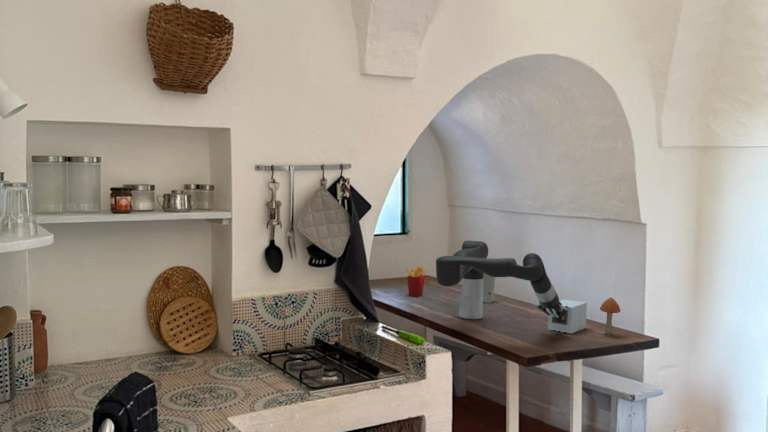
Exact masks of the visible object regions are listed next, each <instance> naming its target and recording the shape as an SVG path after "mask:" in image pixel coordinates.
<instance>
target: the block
mask: <svg viewBox="0 0 768 432" xmlns="http://www.w3.org/2000/svg"><path fill="white" fill-rule="evenodd" d="M559 302H560V303H561V304H562V306H564V307H565V306H568V310H567V312H566V313H565V320H562V321H561V322H560V323H559V322H556V321H555V320H554V318H553V317H552V316H551V315H547V316H548V317H547V319H548V322H547V330H548V331H553V330H555V331H554V332H558V331H560V332H559V333H564V332H566V334H570V333H571V334H574V333H576V332H579V331H581V330H584V329H586V328H587V309H588V308H587V307H588V302H585V301H578V300H572V299H571V300H570V299H561V300H559ZM560 310H561V308H560Z"/></svg>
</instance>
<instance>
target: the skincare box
mask: <svg viewBox="0 0 768 432" xmlns="http://www.w3.org/2000/svg"><path fill="white" fill-rule="evenodd" d="M483 274H484V276H483V304H484V303H485V304H486V303H487V304H492V303H493V302H494V300H495V299H494V297H495V283H496V281H495V280H496V277H492V276H489V275H487V274H485V273H483Z"/></svg>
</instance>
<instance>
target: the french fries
mask: <svg viewBox="0 0 768 432" xmlns="http://www.w3.org/2000/svg"><path fill="white" fill-rule="evenodd" d="M406 271H407V272H408V274H409V275H407V277H406V279H407V290H408V296H409V297H415V298H418V297H422V296H423V294H424V285H425V277H426V276H425V275H424V274H426V273H427V270H425V269H423V268H422V267H421V266H419V265H417V266H416V268H415V270H414V269H407V270H406Z"/></svg>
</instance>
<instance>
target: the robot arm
mask: <svg viewBox="0 0 768 432" xmlns="http://www.w3.org/2000/svg"><path fill="white" fill-rule="evenodd" d="M488 256H489V247H488V245H487V243H486V242H485V241H481V240H479V241H478V240H464V241H463V243H462V245H461V249H460V250H458V251H456V252H455V253H454V254H453V255H444V256H443V255H442V256H439V257H438V258H436V259H435V260H436V261H435V267H436V268H435V271H436V276H435V277H436V281H437V284H439V285H440V286H443V287H453V286H456V285H459V283H461V293H460V295H459V301H458V303H459V306H458V317H460V318H462V319H466V320H479V319H482V318H483V304H484V302H483V276H484V274H483V273H485V274H487V275H489V276H492V277H495V278H515V279H519V280H523V281H528V282H529V283H530V284H531V285H530V286H531V287H532V289H533V291H534V295H535V296H536V298H537V300H538V302H539V303H538V305H537V309H539V310H540V311H541V312H542V313H544V314H545V315H546V316H549V315H551V316H552V317H553V318H554V320H555V321H556V322H559V323H560V322H561V321H562V317H563V316H564V314H565V313H566V312H567V310H568V306H565V307H564V306H562V304H561V303H560V302H559V301H560V297H559V295H558V293H557V291H556V289H555V287H554V284H552V282H551V279H550V278H549V275H548V274H547V271H546V267H545V264H544V262H543V259H542V258H541V256H540V255H539V254H537V253H534V252H530V253H527V254H526V255H524V256H523V258H522V265H520V264H518V263H517V260H516V259H515V258H513V257H512V258H511V257H509V258H507V257H506V258H505V257H504V258H503V257H502V258H488ZM560 308H561V310H562V311H561V312H560Z"/></svg>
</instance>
